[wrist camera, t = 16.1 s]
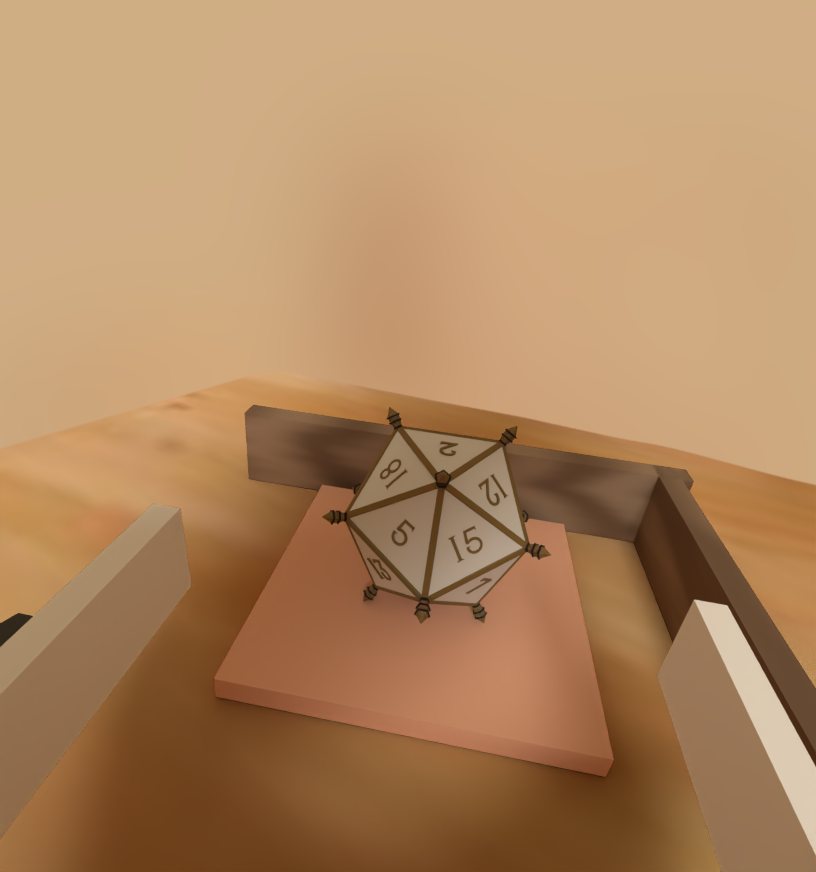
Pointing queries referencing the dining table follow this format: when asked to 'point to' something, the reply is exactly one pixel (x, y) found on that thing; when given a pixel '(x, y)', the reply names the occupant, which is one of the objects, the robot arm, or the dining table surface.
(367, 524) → the game die
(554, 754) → the mat
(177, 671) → the dining table surface
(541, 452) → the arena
